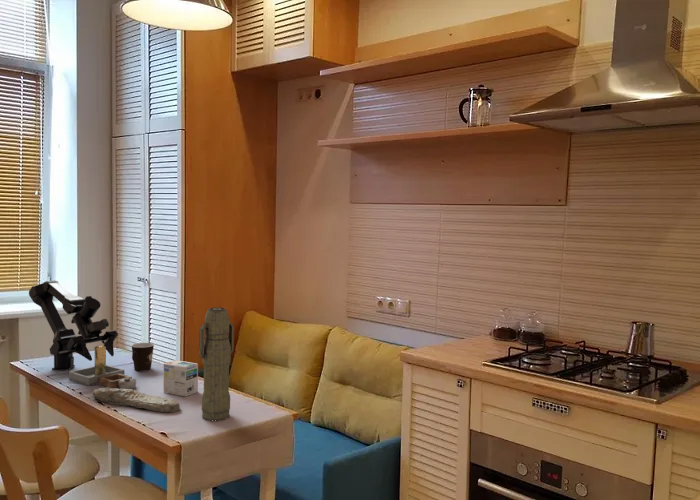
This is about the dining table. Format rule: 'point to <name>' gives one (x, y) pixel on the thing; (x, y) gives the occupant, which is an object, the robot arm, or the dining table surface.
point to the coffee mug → (142, 356)
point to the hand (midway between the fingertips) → (102, 357)
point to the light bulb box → (180, 378)
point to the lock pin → (100, 360)
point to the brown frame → (118, 381)
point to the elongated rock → (135, 399)
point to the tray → (92, 375)
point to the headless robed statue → (216, 363)
